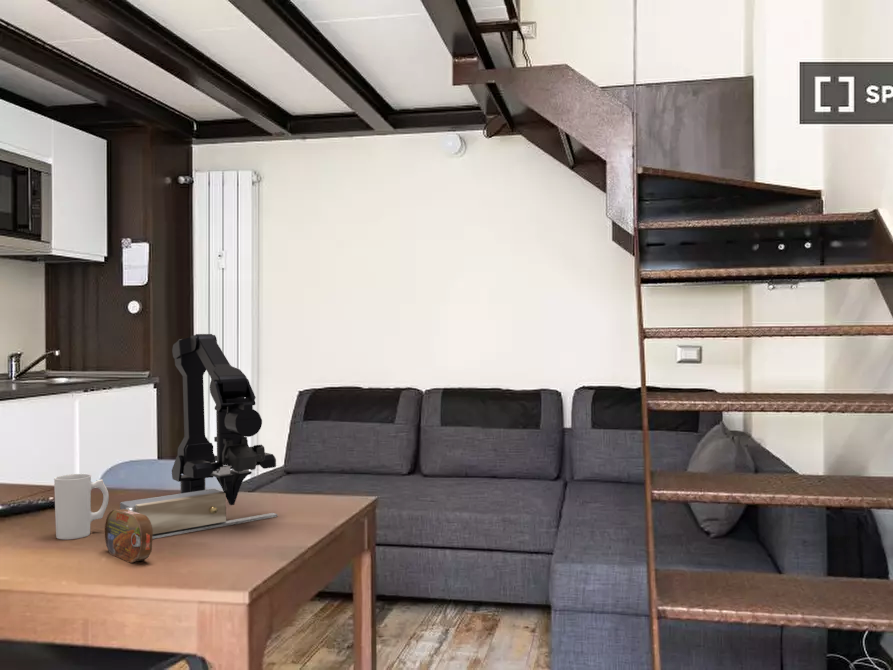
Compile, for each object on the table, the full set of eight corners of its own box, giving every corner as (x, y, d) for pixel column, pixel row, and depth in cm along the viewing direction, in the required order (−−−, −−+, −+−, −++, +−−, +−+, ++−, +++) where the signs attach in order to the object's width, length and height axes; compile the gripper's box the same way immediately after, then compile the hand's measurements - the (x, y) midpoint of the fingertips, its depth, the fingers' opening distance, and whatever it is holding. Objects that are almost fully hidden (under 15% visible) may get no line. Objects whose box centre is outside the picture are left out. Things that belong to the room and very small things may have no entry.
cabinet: (120, 534, 155) (120, 502, 155) (214, 517, 168) (214, 488, 168) (130, 539, 150) (130, 507, 150) (226, 523, 163) (225, 492, 163)
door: (135, 534, 151) (135, 504, 151) (222, 519, 162) (221, 491, 162) (140, 537, 148) (140, 507, 148) (228, 522, 160) (227, 493, 160)
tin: (103, 551, 143) (102, 506, 143) (119, 547, 145) (119, 503, 145) (139, 567, 132) (138, 519, 132) (156, 563, 134) (155, 516, 134)
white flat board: (125, 541, 149) (124, 507, 149) (273, 514, 170) (272, 485, 170) (128, 543, 148) (128, 509, 148) (277, 516, 168) (277, 486, 168)
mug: (55, 541, 149) (54, 481, 149) (54, 534, 155) (53, 475, 155) (110, 535, 154) (109, 476, 154) (107, 527, 160) (107, 471, 160)
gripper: (203, 440, 150) (204, 518, 150) (287, 431, 162) (289, 503, 162) (182, 435, 159) (183, 509, 159) (263, 427, 171) (264, 496, 171)
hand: (231, 504), depth 163 cm, fingers closed
